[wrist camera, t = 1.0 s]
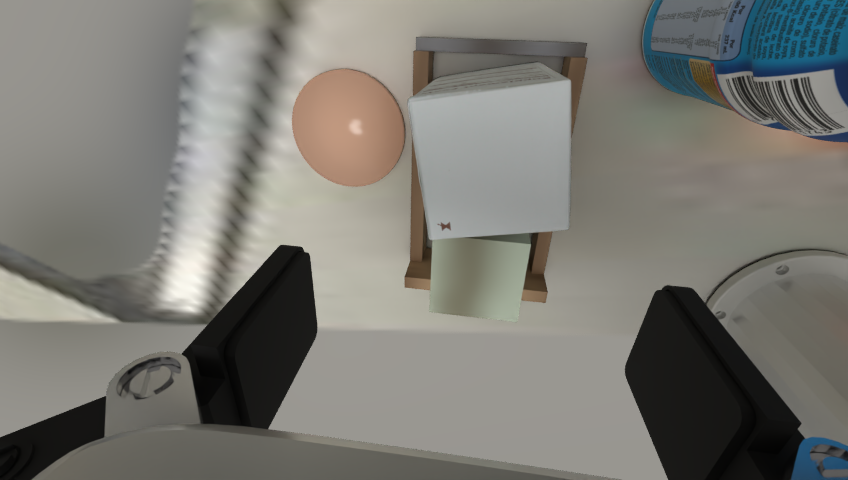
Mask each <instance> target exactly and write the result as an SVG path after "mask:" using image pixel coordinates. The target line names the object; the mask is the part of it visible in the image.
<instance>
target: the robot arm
mask: <svg viewBox="0 0 848 480" xmlns="http://www.w3.org/2000/svg"><path fill="white" fill-rule="evenodd" d="M316 334H317V318H316V309H315V299H314V290H313V280H312V271H311V262H310V255H309V253H306V252H304V250H303V248H302V247H298V246H289V245H280V246H279V247H278V248H277V249H276V250H275V251H274V252H273V253H272V255H271V256H270V257H269V258H268V259H267V260H266V261H265V262H264V263H263V265H262V266H261V267H260V268H259V269H258V270H257V271H256V272H255V273H254V275H253V276H252V277H251V278H250V279H249V280H248V281H247V282H246V283H245V285H244V286H243V287H242V288H241V289H240V290H239V291H238V292H237V293H236V294H235V295H234V296H233V297H232V299H231V300H230V301H229V302H228V303H227V304H226V305H225V306H224V307H223V309H222V310H221V311H220V312H219V313H218V314H217V315H216V316H215V317H214V318H213V320H212V321H211V322H210V323H209V324H208V325H207V326H206V327H205V329H204V330H203V331H202V332H201V333H200V334H199V335H198V336H197V337H196V338H195V340H194V341H193V342H192V343H191V344H190V345H189V346H188V347H187V349H186V350H185V351H184V352H183V353H182V354H180V353H175V352H158V353H154V354H149V355H146V356H144V357H141V358H139V359H137V360H135V361H133V362H131V363H130V364H128V365H126V366H125V367H123V368H122V369H121V370H120V371H119V372H118V373H116V374H115V376H114V377H113V378H112V380H111V381H110V382H109V385H108V388H107V392H106V396H105V397H102V398H100V399H97V400H94V401H92V402H89V403H87V404H84V405H82V406H79V407H76V408H74V409H71V410H69V411H66V412H64V413H61V414H59V415H56V416H54V417H51V418H48V419H46V420H44V421H41V422H38V423H36V424H33V425H31V426H28V427H25V428H23V429H20V430H18V431H15V432H13V433H10V434H8V435H5V436H3V437H0V480H620V479H614V478H607V477H601V476H594V475H587V474H581V473H574V472H567V471H561V470H554V469H548V468H541V467H534V466H527V465H520V464H513V463H507V462H499V461H493V460H486V459H479V458H472V457H465V456H458V455H451V454H444V453H438V452H431V451H424V450H417V449H409V448H403V447H396V446H388V445H382V444H374V443H367V442H360V441H353V440H346V439H339V438H331V437H324V436H317V435H310V434H302V433H294V432H285V431H277V430H269V429H268V428H269V426H270V424H271V422H272V420H273V419H274V417H275V415H276V413H277V411H278V408H279V407H280V405H281V403H282V401H283V399H284V397H285V395H286V394H287V392H288V390H289V388H290V386H291V384H292V382H293V380H294V378H295V376H296V374H297V372H298V371H299V369H300V367H301V365H302V363H303V361H304V359H305V357H306V355H307V353H308V351H309V350H310V348H311V346H312V344H313V342H314V340H315V338H316ZM625 375H626V379H627V381H628V384H629V386H630V389H631V391H632V393H633V396H634V398H635V401H636V403H637V405H638V408H639V410H640V413H641V415H642V417H643V420H644V422H645V425H646V427H647V429H648V432H649V434H650V437H651V439H652V442H653V444H654V446H655V449H656V451H657V454H658V456H659V458H660V461H661V463H662V466H663V468H664V470H665V473H666V475H667V478H668V480H848V256H846V255H842V254H839V253H835V252H829V251H818V250H809V251H795V252H790V253H785V254H780V255H776V256H773V257H770V258H767V259H764V260H761V261H759V262H756V263H754V264H752V265H750V266H748V267H746V268H744V269H742V270H741V271H739V272H738V273H736V274H735V275H733V276H732V277H730V278H729V279H728V280H727V281H726V282H725V283H724V284H722V285H721V286H720V287H719V288H718V289H717V290H716V292H715V293H714V294H713V295H712V297H711V298H710V299H709V301H708V303H707V305H706V304H705V303H704V302H703V300H702V299H701V298H700V297H699V295H698V294H697V293H696V292H695V291H694V290H693V289H692V288H688V287H679V286H669V285H667V286H665V287H663V288H662V290H657V291H656V292H655V294H654V296H653V298H652V301H651V303H650V306H649V308H648V310H647V313H646V315H645V318H644V320H643V323H642V325H641V328H640V330H639V333H638V335H637V338H636V340H635V343H634V345H633V348H632V350H631V353H630V355H629V357H628V360H627V363H626V366H625Z"/></svg>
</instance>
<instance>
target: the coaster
mask: <svg viewBox="0 0 848 480" xmlns="http://www.w3.org/2000/svg"><path fill="white" fill-rule="evenodd" d="M292 127H293V133H294V138H295V141H296V144H297V146H298V148H299V151H300V152H301V154H302V156H303V157H304V159H305V160H306V161H307V163H308V164H309V165H310V166H311V167H312V168H313V169H314V170H315V171H316V172H317V173H318V174H320V175H321V176H323V177H324V178H326V179H328V180H330V181H332V182H334V183H337V184H341V185H345V186H365V185H369V184H372V183H374V182H377V181H378V180H380V179H382V178H383V177H384V176H386V175H387V174H388V173H389V172H390V171H391V170H392V169H393V167H394V166H395V164H396V163H397V162H398V160H399V158H400V156H401V153H402V150H403V147H404V142H405V125H404V120H403V116H402V113H401V110H400V108H399V106H398V104H397V102H396V100H395V99H394V97H393V96H392V94H391V93H390V92H389V91H388V89H387V88H386V87H385V86H384V85H383V84H381V83H380V82H379V81H377V80H376V79H374V78H373V77H371V76H369V75H367V74H365V73H362V72H359V71H356V70H350V69H337V70H332V71H328V72H325V73H322V74H320V75H318V76H316V77H314V78H313V79H312V80H310V81H309V82H308V83H307V84H306V85H305V86H304V87H303V89H302V90H301V92H300V93H299V95H298V97H297V99H296V102H295V105H294V109H293V115H292Z"/></svg>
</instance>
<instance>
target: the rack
mask: <svg viewBox="0 0 848 480" xmlns="http://www.w3.org/2000/svg"><path fill="white" fill-rule="evenodd" d="M586 46H587V43H574V42H546V41H518V40H490V39H462V38H434V37H416V51H414V56H413V96H414V95H416V94H417V93H418V92H420V91H421V90H422V89H423V88H425V87H426V86H427V85H429V84H430V83H431V82H432V78H433V51H440V52H465V53H490V54H515V55H540V56H564V61H563V67H562V73H561V75H563V76H564V77H566V78H568V79H570V80H571V138H572V133H573V128H574V123H575V118H576V113H577V108H578V103H579V98H580V94H581V89H582V84H583V79H584V74H585V69H586V64H587V59H588V58H585V52H586ZM551 236H552V231H550V232H535V233H533V236H532V242H531V241H530V236H529V233H521V234H507V235H493V236H477V237H463V238H451V239H440V240H432V248H426V241H427V223H426V217H425V210H424V204H423V197H422V191H421V186H420V183H419V176H418V167H417V161H416V155H415V148H414V142H413V136H412V185H411V249H410V263H409V266H408V269H407V272H406V275H405V287H406V288H415V289H424V290H430V307H429V312H434V313H443V314H451V315H460V316H468V317H477V318H485V319H494V320H503V321H511V322H517V321H518V315H519V309H520V304H521V300H524V301H533V302H542V303H545V302H546V298H547V293H548V291H547V287H546V282H545V278H544V271H545V266H546V261H547V256H548V251H549V246H550V241H551Z"/></svg>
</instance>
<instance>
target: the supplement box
mask: <svg viewBox="0 0 848 480" xmlns="http://www.w3.org/2000/svg"><path fill="white" fill-rule="evenodd" d="M407 105H408V112H409V118H410V124H411V130H412V136H413V142H414V148H415V155H416V161H417V167H418V176H419V183H420V186H421V191H422V197H423V204H424V210H425V217H426V223H427V229H428V237H429V239H430V240H440V239H451V238H463V237H477V236H493V235H507V234H521V233H535V232H550V231H561V230H568V229H569V225H570V199H571V80H570V79H568V78H566V77H564V76H563V75H561V74H559V73H557V72H556V71H554V70H552V69H550V68H549V67H547V66H545V65H543V64H542V63H540V62H532V63H525V64H519V65H512V66H505V67H498V68H492V69H485V70H479V71H472V72H466V73H460V74H453V75H447V76H442V77H438V78H437V79H435V80H434V81H432V82H431V83H430V84H429V85H427V86H426V87H425V88H423V89H422V90H421V91H420V92H418V93H417V94H416V95H414V96H412V97H410V98H409V99H408V104H407Z"/></svg>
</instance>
